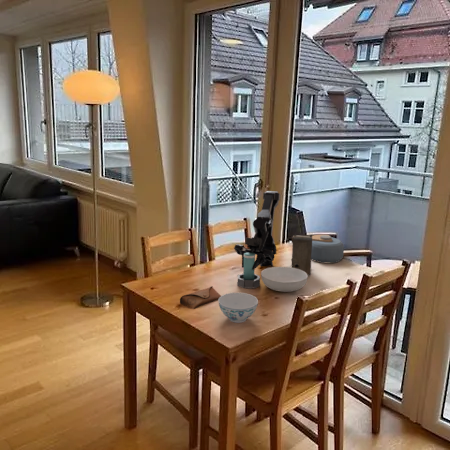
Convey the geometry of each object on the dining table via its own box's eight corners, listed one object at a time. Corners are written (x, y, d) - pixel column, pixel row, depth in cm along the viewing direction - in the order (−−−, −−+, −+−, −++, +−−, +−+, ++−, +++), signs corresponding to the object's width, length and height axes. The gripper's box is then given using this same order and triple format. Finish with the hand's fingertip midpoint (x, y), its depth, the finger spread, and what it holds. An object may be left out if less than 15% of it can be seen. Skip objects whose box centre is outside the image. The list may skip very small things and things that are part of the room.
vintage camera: (308, 266, 233) (310, 229, 229) (311, 276, 218) (312, 236, 214) (289, 266, 234) (290, 228, 230) (290, 275, 219) (292, 235, 215)
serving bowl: (313, 285, 207) (314, 271, 206) (296, 301, 190) (297, 285, 188) (272, 276, 218) (272, 263, 216) (252, 290, 200) (252, 276, 198)
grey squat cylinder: (323, 250, 260) (324, 229, 257) (350, 259, 244) (352, 238, 241) (298, 255, 250) (299, 234, 247) (325, 265, 234) (327, 243, 231)
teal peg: (242, 279, 210) (243, 252, 207) (254, 279, 210) (254, 252, 207) (243, 283, 205) (243, 255, 202) (254, 283, 205) (255, 256, 201)
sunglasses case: (192, 309, 180) (187, 293, 181) (183, 313, 185) (178, 297, 186) (225, 297, 192) (219, 282, 193) (215, 301, 197) (210, 286, 198)
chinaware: (233, 331, 163) (234, 312, 161) (210, 316, 174) (210, 298, 172) (265, 321, 171) (266, 302, 169) (241, 307, 183) (241, 289, 181)
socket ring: (237, 279, 213) (237, 272, 212) (259, 280, 212) (259, 273, 212) (237, 288, 203) (237, 280, 202) (260, 288, 202) (260, 281, 202)
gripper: (236, 227, 209) (223, 256, 203) (272, 233, 200) (260, 263, 194) (244, 239, 218) (232, 267, 212) (279, 245, 209) (268, 275, 202)
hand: (247, 268), depth 204 cm, fingers closed on teal peg, 5 cm apart
